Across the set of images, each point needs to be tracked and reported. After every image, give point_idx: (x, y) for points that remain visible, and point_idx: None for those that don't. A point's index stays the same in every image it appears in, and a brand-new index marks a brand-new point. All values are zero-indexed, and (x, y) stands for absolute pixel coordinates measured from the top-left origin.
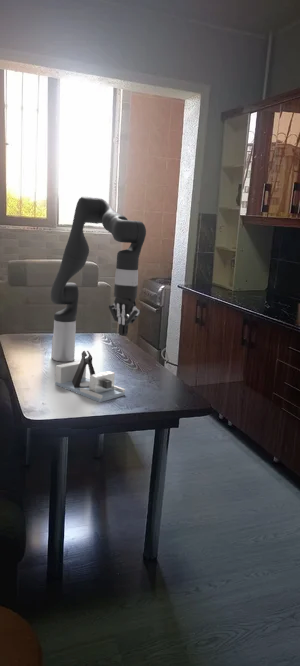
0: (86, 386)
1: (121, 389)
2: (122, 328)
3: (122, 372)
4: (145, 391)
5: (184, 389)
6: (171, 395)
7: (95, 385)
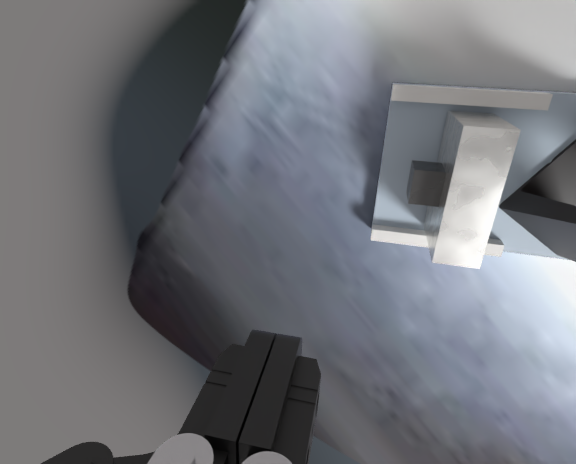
0: (553, 161)
1: (381, 229)
2: (226, 392)
3: (548, 430)
4: (341, 310)
5: None
6: (256, 328)
7: (456, 117)
